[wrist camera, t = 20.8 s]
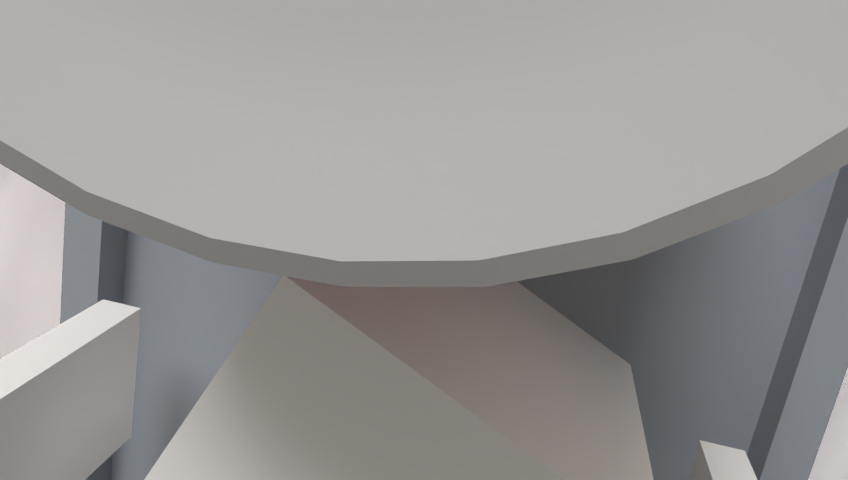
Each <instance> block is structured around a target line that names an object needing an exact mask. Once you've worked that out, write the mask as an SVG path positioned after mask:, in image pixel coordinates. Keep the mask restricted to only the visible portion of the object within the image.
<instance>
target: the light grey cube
mask: <svg viewBox="0 0 848 480" xmlns="http://www.w3.org/2000/svg"><path fill="white" fill-rule="evenodd" d="M144 480H654V479H653V474H652V469H651V464H650V459H649V454H648V449H647V444H646V439H645V434H644V429H643V424H642V419H641V414H640V410H639V405H638V400H637V395H636V390H635V385H634V380H633V375H632V370H631V365H630V364H629V363H627V362H626V361H625V360H623V359H622V358H621V357H619V356H618V355H616V354H615V353H614V352H612V351H611V350H610V349H608V348H607V347H606V346H604V345H603V344H601V343H600V342H599V341H597V340H596V339H595V338H593V337H592V336H591V335H589V334H588V333H586V332H585V331H584V330H582V329H581V328H580V327H578V326H577V325H576V324H574V323H573V322H571V321H570V320H569V319H567V318H566V317H565V316H563V315H562V314H561V313H559V312H558V311H556V310H555V309H554V308H552V307H551V306H550V305H548V304H547V303H546V302H544V301H543V300H541V299H540V298H539V297H537V296H536V295H535V294H533V293H532V292H531V291H529V290H528V289H526V288H525V287H524V286H522V285H521V284H520V283H518V282H517V281H515V282H510V283H504V284H499V285H493V286H488V287H342V286H337V285H331V284H326V283H321V282H315V281H310V280H304V279H299V278H293V277H288V276H282V278H281V279H280V280H279V282H278V283H277V285H276V286H275V288H274V289H273V291H272V292H271V294H270V295H269V297H268V298H267V300H266V301H265V303H264V304H263V306H262V307H261V308H260V310H259V311H258V313H257V314H256V316H255V317H254V319H253V320H252V322H251V323H250V325H249V326H248V328H247V329H246V331H245V332H244V333H243V335H242V336H241V338H240V339H239V341H238V342H237V344H236V345H235V347H234V348H233V350H232V351H231V353H230V354H229V356H228V357H227V359H226V360H225V361H224V363H223V364H222V366H221V367H220V369H219V370H218V372H217V373H216V375H215V376H214V378H213V379H212V381H211V382H210V384H209V385H208V386H207V388H206V389H205V391H204V392H203V394H202V395H201V397H200V398H199V400H198V401H197V403H196V404H195V406H194V407H193V409H192V410H191V412H190V413H189V414H188V416H187V417H186V419H185V420H184V422H183V423H182V425H181V426H180V428H179V429H178V431H177V432H176V434H175V435H174V437H173V438H172V439H171V441H170V442H169V444H168V445H167V447H166V448H165V450H164V451H163V453H162V454H161V456H160V457H159V459H158V460H157V462H156V463H155V465H154V466H153V467H152V469H151V470H150V472H149V473H148V475H147V476H146V478H145V479H144Z"/></svg>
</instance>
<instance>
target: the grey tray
mask: <svg viewBox="0 0 848 480" xmlns="http://www.w3.org/2000/svg"><path fill="white" fill-rule="evenodd" d="M282 276H283V275H277V274H272V273H266V272H261V271H255V270H250V269H245V268H239V267H234V266H228V265H223V264H217V263H212V262H209V261H207V260H204V259H201V258H199V257H196V256H194V255H191V254H188V253H186V252H183V251H180V250H178V249H175V248H172V247H170V246H167V245H164V244H162V243H159V242H157V241H154V240H151V239H149V238H146V237H143V236H141V235H138V234H135V233H133V232H130V231H127V230H125V229H122V228H120V227H117V226H114V225H112V224H109V223H106V222H104V221H101V220H98V219H96V218H93V217H91V216H88V215H86V214H84V213H83V212H81V211H79V210H78V209H76V208H74V207H73V206H71V205H69V204H68V203H66V204H65V227H64V249H63V272H62V295H61V318H60V324H61V323H63V322H65V321H66V320H68V319H70V318H72V317H73V316H75V315H77V314H79V313H80V312H82V311H84V310H86V309H87V308H89V307H91V306H93V305H94V304H96V303H98V302H100V301H101V300H103V299H104V300H108V301H113V302H117V303H121V304H125V305H130V306H134V307H138V308H141V314H140V327H139V341H138V354H137V367H136V381H135V394H134V407H133V421H132V434H131V437H130V438H129V439H128V440H127V441H126V442H125V443H124V444H123V445H122V446H121V447H120V448H119V449H117V450H116V451H115V452H114V453H113V454H112V455H111V456H110V457H109V458H108V459H107V460H106V461H105V462H103V463H102V464H101V465H100V466H99V467H98V468H97V469H96V470H95V471H94V472H93V473H92V474H91V475H89V476H88V477H87V478H86V479H85V480H144V479H145V478H146V476H147V475H148V473H149V472H150V470H151V469H152V467H153V466H154V465H155V463H156V462H157V460H158V459H159V457H160V456H161V454H162V453H163V451H164V450H165V448H166V447H167V445H168V444H169V442H170V441H171V439H172V438H173V437H174V435H175V434H176V432H177V431H178V429H179V428H180V426H181V425H182V423H183V422H184V420H185V419H186V417H187V416H188V414H189V413H190V412H191V410H192V409H193V407H194V406H195V404H196V403H197V401H198V400H199V398H200V397H201V395H202V394H203V392H204V391H205V389H206V388H207V386H208V385H209V384H210V382H211V381H212V379H213V378H214V376H215V375H216V373H217V372H218V370H219V369H220V367H221V366H222V364H223V363H224V361H225V360H226V359H227V357H228V356H229V354H230V353H231V351H232V350H233V348H234V347H235V345H236V344H237V342H238V341H239V339H240V338H241V336H242V335H243V333H244V332H245V331H246V329H247V328H248V326H249V325H250V323H251V322H252V320H253V319H254V317H255V316H256V314H257V313H258V311H259V310H260V308H261V307H262V306H263V304H264V303H265V301H266V300H267V298H268V297H269V295H270V294H271V292H272V291H273V289H274V288H275V286H276V285H277V283H278V282H279V280H280V279H281V278H282ZM517 282H518V283H520V284H521V285H522V286H524V287H525V288H526V289H528V290H529V291H531V292H532V293H533V294H535V295H536V296H537V297H539V298H540V299H541V300H543V301H544V302H546V303H547V304H548V305H550V306H551V307H552V308H554V309H555V310H556V311H558V312H559V313H561V314H562V315H563V316H565V317H566V318H567V319H569V320H570V321H571V322H573V323H574V324H576V325H577V326H578V327H580V328H581V329H582V330H584V331H585V332H586V333H588V334H589V335H591V336H592V337H593V338H595V339H596V340H597V341H599V342H600V343H601V344H603V345H604V346H606V347H607V348H608V349H610V350H611V351H612V352H614V353H615V354H616V355H618V356H619V357H621V358H622V359H623V360H625V361H626V362H627V363H629V364H630V365H631V370H632V375H633V380H634V385H635V390H636V395H637V400H638V405H639V410H640V414H641V419H642V424H643V429H644V434H645V439H646V444H647V449H648V454H649V459H650V464H651V469H652V474H653V479H654V480H687V479H688V476H689V473H690V470H691V466H692V463H693V460H694V456H695V453H696V450H697V447H698V443H699V440H701V441H706V442H710V443H714V444H718V445H723V446H727V447H731V448H735V449H740V450H744V451H745V452H746V455H747V457H748V459H749V461H750V464H751V466H752V468H753V471H754V473H755V475H756V478H757V480H808V477H809V474H810V472H811V469H812V466H813V463H814V460H815V458H816V455H817V452H818V449H819V446H820V443H821V441H822V438H823V435H824V432H825V429H826V427H827V424H828V421H829V418H830V415H831V412H832V410H833V407H834V404H835V401H836V398H837V396H838V393H839V390H840V387H841V384H842V381H843V379H844V376H845V373H846V370H847V367H848V164H846V165H845V166H843V167H841V168H840V169H838V170H836V171H835V172H833V173H831V174H830V175H828V176H826V177H825V178H823V179H821V180H820V181H818V182H816V183H815V184H813V185H811V186H810V187H808V188H806V189H805V190H803V191H801V192H800V193H798V194H796V195H795V196H793V197H791V198H790V199H788V200H786V201H785V202H783V203H780V204H777V205H775V206H772V207H769V208H767V209H764V210H762V211H759V212H756V213H754V214H751V215H748V216H746V217H743V218H741V219H738V220H735V221H733V222H730V223H727V224H725V225H722V226H720V227H717V228H714V229H712V230H709V231H706V232H704V233H701V234H699V235H696V236H693V237H691V238H688V239H685V240H683V241H680V242H678V243H675V244H672V245H670V246H667V247H664V248H662V249H659V250H657V251H654V252H651V253H649V254H646V255H643V256H641V257H638V258H636V259H633V260H628V261H622V262H617V263H612V264H606V265H601V266H596V267H590V268H585V269H579V270H574V271H569V272H563V273H558V274H553V275H547V276H542V277H536V278H531V279H526V280H520V281H517Z"/></svg>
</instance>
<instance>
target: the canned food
mask: <svg viewBox="0 0 848 480" xmlns="http://www.w3.org/2000/svg"><path fill="white" fill-rule="evenodd" d="M0 164H2V165H4V166H5V167H7V168H9V169H10V170H12V171H14V172H15V173H17V174H19V175H20V176H22V177H24V178H25V179H27V180H29V181H30V182H32V183H34V184H36V185H37V186H39V187H41V188H42V189H44V190H46V191H47V192H49V193H51V194H52V195H54V196H56V197H57V198H59V199H61V200H62V201H64V202H66V203H68V204H69V205H71V206H73V207H74V208H76V209H78V210H79V211H81V212H83V213H84V214H86V215H88V216H91V217H93V218H96V219H98V220H101V221H104V222H106V223H109V224H112V225H114V226H117V227H120V228H122V229H125V230H127V231H130V232H133V233H135V234H138V235H141V236H143V237H146V238H149V239H151V240H154V241H157V242H159V243H162V244H164V245H167V246H170V247H172V248H175V249H178V250H180V251H183V252H186V253H188V254H191V255H194V256H196V257H199V258H201V259H204V260H207V261H209V262H212V263H217V264H223V265H228V266H234V267H239V268H245V269H250V270H255V271H261V272H266V273H272V274H277V275H283V276H288V277H293V278H299V279H304V280H310V281H315V282H321V283H326V284H331V285H337V286H342V287H488V286H493V285H499V284H504V283H510V282H515V281H520V280H526V279H531V278H536V277H542V276H547V275H553V274H558V273H563V272H569V271H574V270H579V269H585V268H590V267H596V266H601V265H606V264H612V263H617V262H622V261H628V260H633V259H636V258H638V257H641V256H643V255H646V254H649V253H651V252H654V251H657V250H659V249H662V248H664V247H667V246H670V245H672V244H675V243H678V242H680V241H683V240H685V239H688V238H691V237H693V236H696V235H699V234H701V233H704V232H706V231H709V230H712V229H714V228H717V227H720V226H722V225H725V224H727V223H730V222H733V221H735V220H738V219H741V218H743V217H746V216H748V215H751V214H754V213H756V212H759V211H762V210H764V209H767V208H769V207H772V206H775V205H777V204H780V203H783V202H785V201H786V200H788V199H790V198H791V197H793V196H795V195H796V194H798V193H800V192H801V191H803V190H805V189H806V188H808V187H810V186H811V185H813V184H815V183H816V182H818V181H820V180H821V179H823V178H825V177H826V176H828V175H830V174H831V173H833V172H835V171H836V170H838V169H840V168H841V167H843V166H845V165H846V164H848V0H0Z"/></svg>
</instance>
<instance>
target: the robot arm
mask: <svg viewBox="0 0 848 480" xmlns="http://www.w3.org/2000/svg"><path fill="white" fill-rule="evenodd" d="M140 314H141V308H138V307H134V306H130V305H125V304H121V303H117V302H113V301H108V300H104V299H103V300H101V301H100V302H98V303H96V304H94V305H93V306H91V307H89V308H87V309H86V310H84V311H82V312H80V313H79V314H77V315H75V316H73V317H72V318H70V319H68V320H66V321H65V322H63V323H61V324H60V325H58V326H56V327H54V328H53V329H51V330H49V331H47V332H46V333H44V334H42V335H40V336H39V337H37V338H35V339H33V340H32V341H30V342H28V343H26V344H25V345H23V346H21V347H20V348H18V349H16V350H14V351H13V352H11V353H9V354H7V355H6V356H4V357H2V358H0V480H85V479H86V478H87V477H88V476H89V475H91V474H92V473H93V472H94V471H95V470H96V469H97V468H98V467H99V466H100V465H101V464H102V463H103V462H105V461H106V460H107V459H108V458H109V457H110V456H111V455H112V454H113V453H114V452H115V451H116V450H117V449H119V448H120V447H121V446H122V445H123V444H124V443H125V442H126V441H127V440H128V439H129V438H130V437H131V434H132V421H133V407H134V394H135V381H136V367H137V354H138V341H139V327H140ZM687 480H757V478H756V475H755V473H754V471H753V468H752V466H751V464H750V461H749V459H748V457H747V455H746V452H745V451H744V450H740V449H735V448H731V447H727V446H723V445H718V444H714V443H710V442H706V441H701V440H699V443H698V447H697V450H696V453H695V456H694V460H693V463H692V466H691V470H690V473H689V476H688V479H687Z"/></svg>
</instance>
